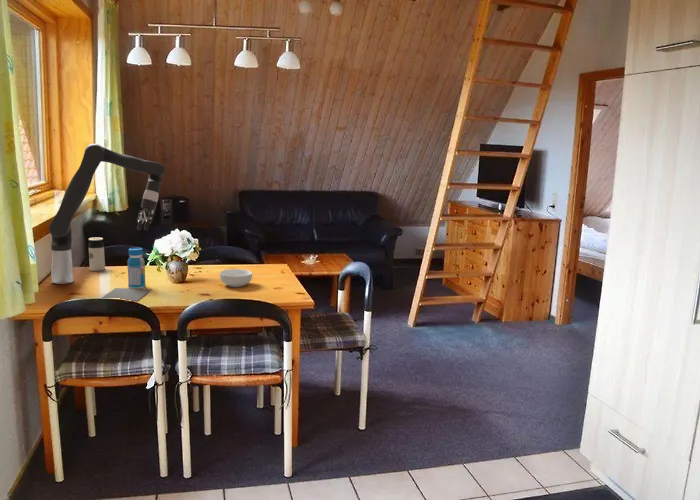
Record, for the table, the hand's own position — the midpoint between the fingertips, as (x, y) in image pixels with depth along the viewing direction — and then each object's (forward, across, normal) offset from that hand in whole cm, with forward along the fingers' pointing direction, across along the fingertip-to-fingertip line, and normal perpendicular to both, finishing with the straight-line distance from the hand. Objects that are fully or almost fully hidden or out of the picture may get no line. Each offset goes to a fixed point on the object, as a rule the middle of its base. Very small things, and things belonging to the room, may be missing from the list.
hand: (142, 229), depth 304 cm
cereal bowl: (+18, +32, +43) cm, 57 cm away
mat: (+35, +16, -7) cm, 39 cm away
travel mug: (+24, -44, -1) cm, 50 cm away
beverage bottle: (+30, +5, +3) cm, 30 cm away
